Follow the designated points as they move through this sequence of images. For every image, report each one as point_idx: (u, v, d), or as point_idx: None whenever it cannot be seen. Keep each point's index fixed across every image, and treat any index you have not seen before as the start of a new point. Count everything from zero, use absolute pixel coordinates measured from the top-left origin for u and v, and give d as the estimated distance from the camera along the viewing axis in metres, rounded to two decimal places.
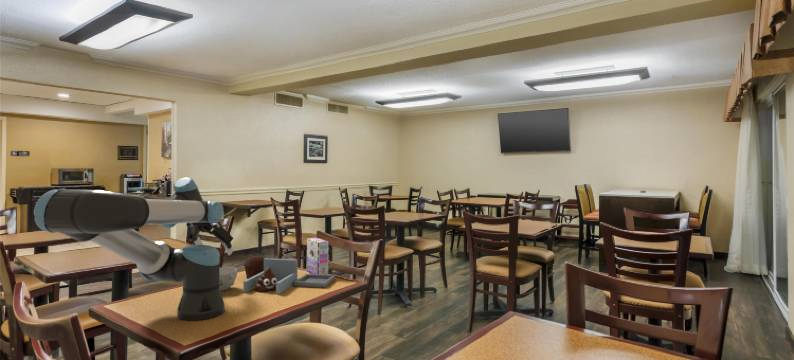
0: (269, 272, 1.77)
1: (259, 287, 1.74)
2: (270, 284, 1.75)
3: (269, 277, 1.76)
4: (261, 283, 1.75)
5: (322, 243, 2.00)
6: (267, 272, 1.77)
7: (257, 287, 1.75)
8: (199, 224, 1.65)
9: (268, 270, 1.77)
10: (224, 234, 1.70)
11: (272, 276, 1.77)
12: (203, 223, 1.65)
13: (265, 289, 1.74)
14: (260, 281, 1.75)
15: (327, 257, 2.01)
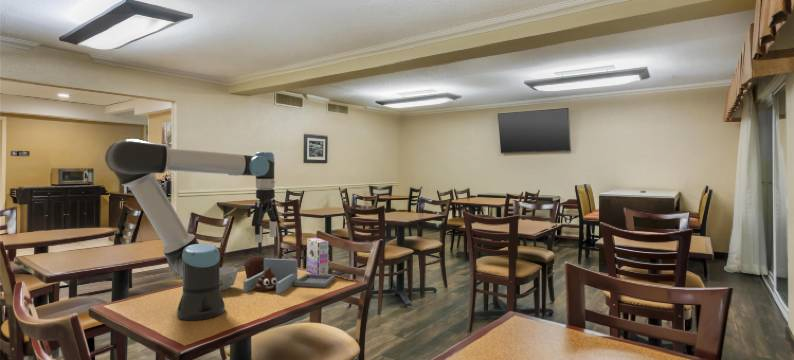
0: (269, 272, 1.77)
1: (259, 287, 1.74)
2: (270, 284, 1.75)
3: (269, 277, 1.76)
4: (261, 283, 1.75)
5: (322, 243, 2.00)
6: (267, 272, 1.77)
7: (257, 287, 1.75)
8: (256, 195, 1.76)
9: (268, 270, 1.77)
10: (254, 215, 1.69)
11: (272, 276, 1.77)
12: (256, 196, 1.75)
13: (265, 289, 1.74)
14: (260, 281, 1.75)
15: (327, 257, 2.01)
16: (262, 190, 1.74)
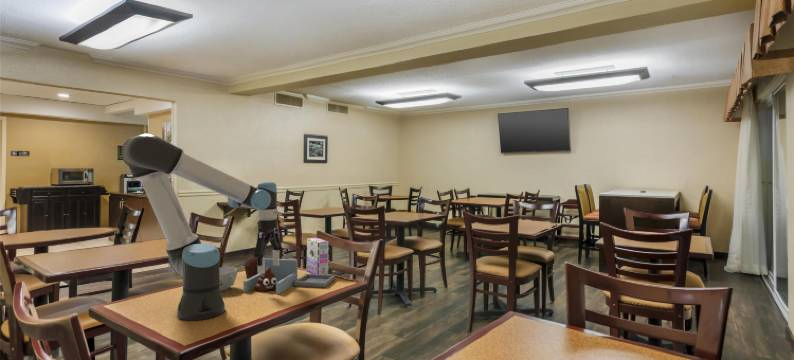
0: (269, 272, 1.77)
1: (259, 287, 1.74)
2: (270, 284, 1.75)
3: (269, 277, 1.76)
4: (261, 283, 1.75)
5: (322, 243, 2.00)
6: (267, 272, 1.77)
7: (257, 287, 1.75)
8: None
9: (268, 270, 1.77)
10: (257, 246, 1.70)
11: (272, 276, 1.77)
12: (259, 226, 1.75)
13: (265, 289, 1.74)
14: (260, 281, 1.75)
15: (327, 257, 2.01)
16: (264, 221, 1.74)
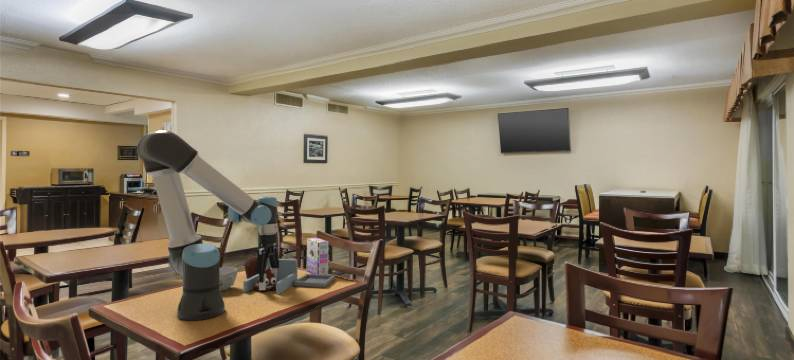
0: (268, 272, 1.77)
1: None
2: (269, 284, 1.75)
3: (268, 277, 1.76)
4: None
5: (322, 243, 2.00)
6: (266, 272, 1.77)
7: (256, 287, 1.75)
8: None
9: (267, 270, 1.77)
10: (258, 263, 1.71)
11: (271, 276, 1.77)
12: (259, 241, 1.75)
13: None
14: None
15: (327, 257, 2.01)
16: (264, 235, 1.74)
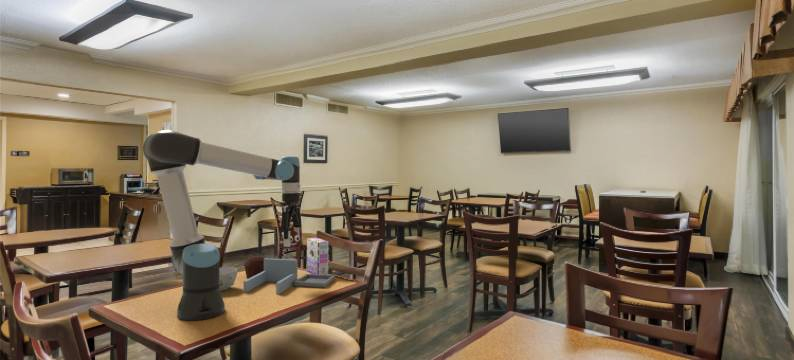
0: (292, 230, 1.82)
1: (283, 244, 1.79)
2: (293, 241, 1.80)
3: (292, 234, 1.81)
4: None
5: (322, 243, 2.00)
6: (290, 230, 1.81)
7: (281, 244, 1.79)
8: (282, 199, 1.81)
9: (291, 228, 1.82)
10: (282, 220, 1.75)
11: (295, 234, 1.82)
12: (283, 199, 1.80)
13: None
14: None
15: (327, 257, 2.01)
16: (288, 193, 1.79)
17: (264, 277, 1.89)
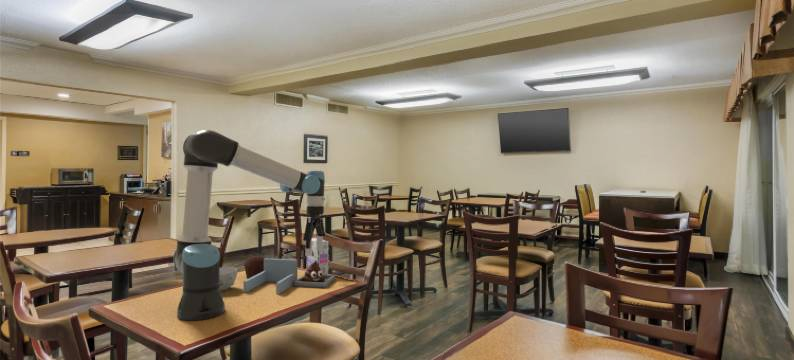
0: (315, 265, 1.87)
1: (307, 279, 1.84)
2: (317, 276, 1.85)
3: (316, 270, 1.86)
4: (308, 275, 1.85)
5: None
6: (314, 265, 1.87)
7: (305, 279, 1.85)
8: None
9: (314, 263, 1.87)
10: (306, 230, 1.79)
11: (318, 269, 1.87)
12: (307, 212, 1.85)
13: (312, 281, 1.84)
14: (307, 274, 1.85)
15: (327, 257, 2.01)
16: (313, 206, 1.84)
17: (264, 277, 1.89)
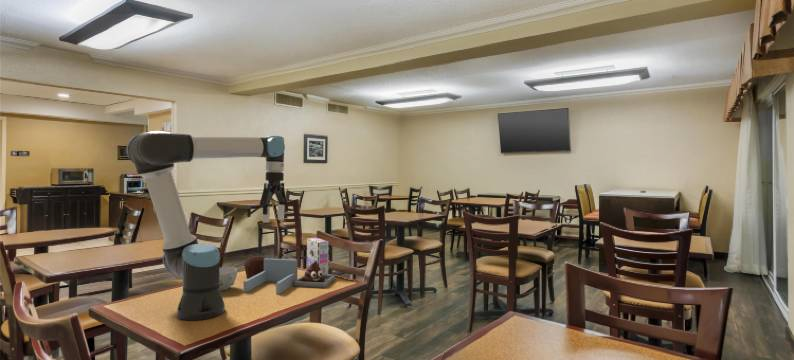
0: (315, 265, 1.87)
1: (307, 279, 1.84)
2: (317, 276, 1.85)
3: (316, 270, 1.86)
4: (308, 275, 1.85)
5: (322, 243, 2.00)
6: (314, 265, 1.87)
7: (305, 279, 1.85)
8: None
9: (314, 263, 1.87)
10: (263, 195, 1.75)
11: (318, 269, 1.87)
12: (266, 178, 1.81)
13: (312, 281, 1.84)
14: (307, 274, 1.85)
15: (327, 257, 2.01)
16: (271, 172, 1.80)
17: (264, 277, 1.89)
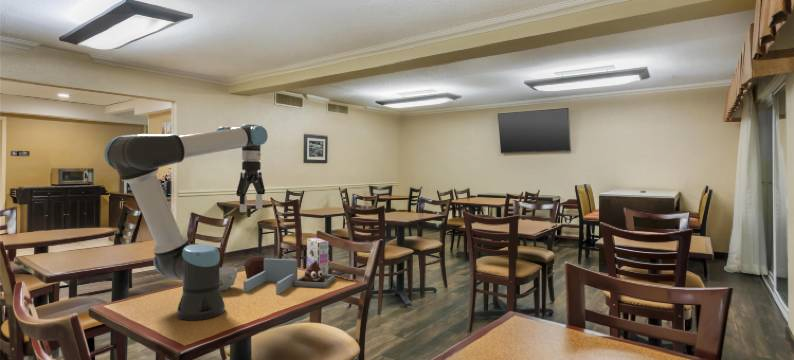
0: (315, 265, 1.87)
1: (307, 279, 1.84)
2: (317, 276, 1.85)
3: (316, 270, 1.86)
4: (308, 275, 1.85)
5: (322, 243, 2.00)
6: (314, 265, 1.87)
7: (304, 279, 1.85)
8: (242, 167, 1.80)
9: (314, 263, 1.87)
10: (239, 184, 1.73)
11: (318, 269, 1.87)
12: (242, 167, 1.79)
13: (312, 281, 1.84)
14: (307, 274, 1.85)
15: (327, 257, 2.01)
16: (248, 161, 1.78)
17: (264, 277, 1.89)
